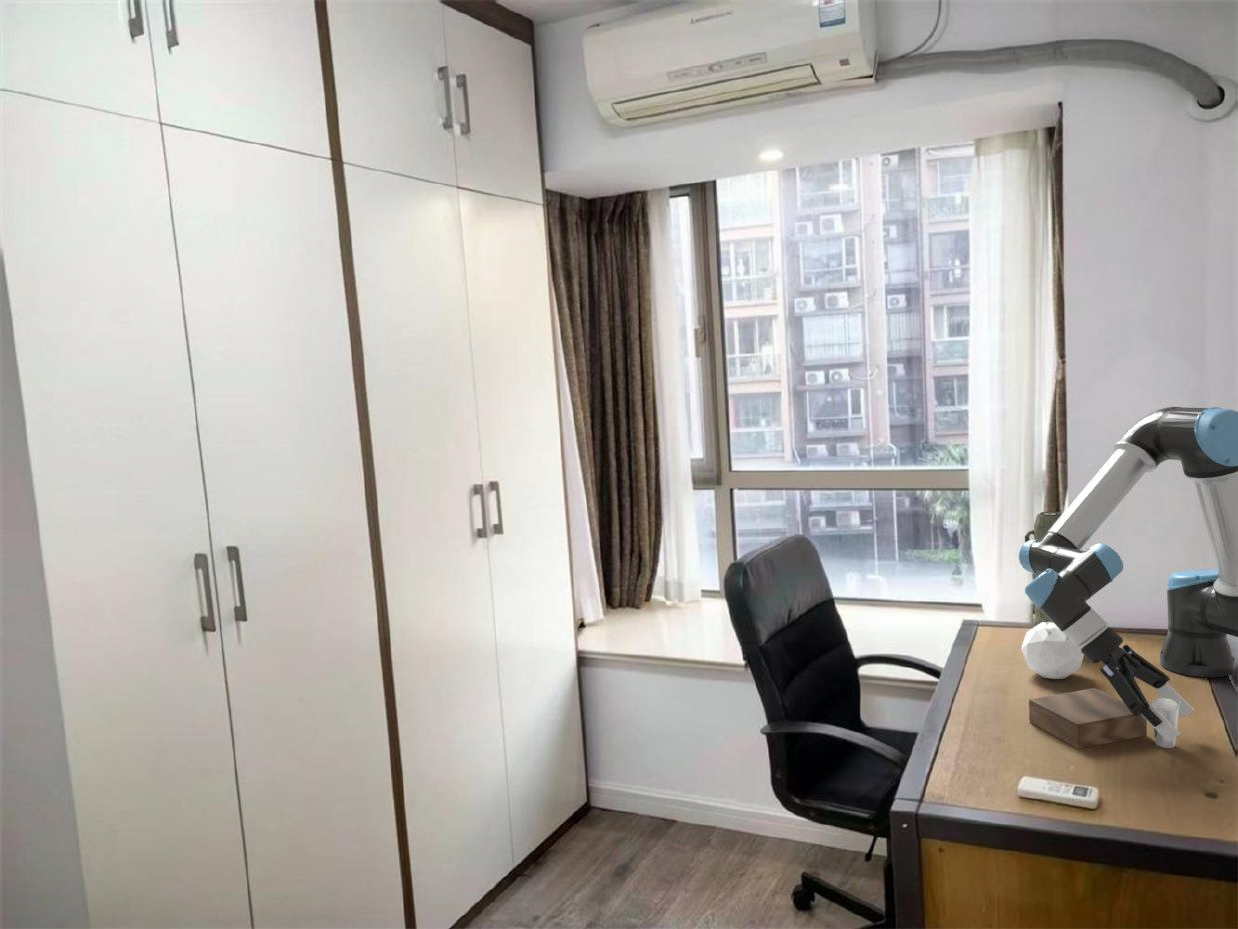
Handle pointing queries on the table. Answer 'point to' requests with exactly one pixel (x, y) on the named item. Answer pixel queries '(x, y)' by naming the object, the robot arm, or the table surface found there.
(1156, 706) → the milkshake
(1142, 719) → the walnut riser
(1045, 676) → the geodesic sphere
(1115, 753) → the table surface
